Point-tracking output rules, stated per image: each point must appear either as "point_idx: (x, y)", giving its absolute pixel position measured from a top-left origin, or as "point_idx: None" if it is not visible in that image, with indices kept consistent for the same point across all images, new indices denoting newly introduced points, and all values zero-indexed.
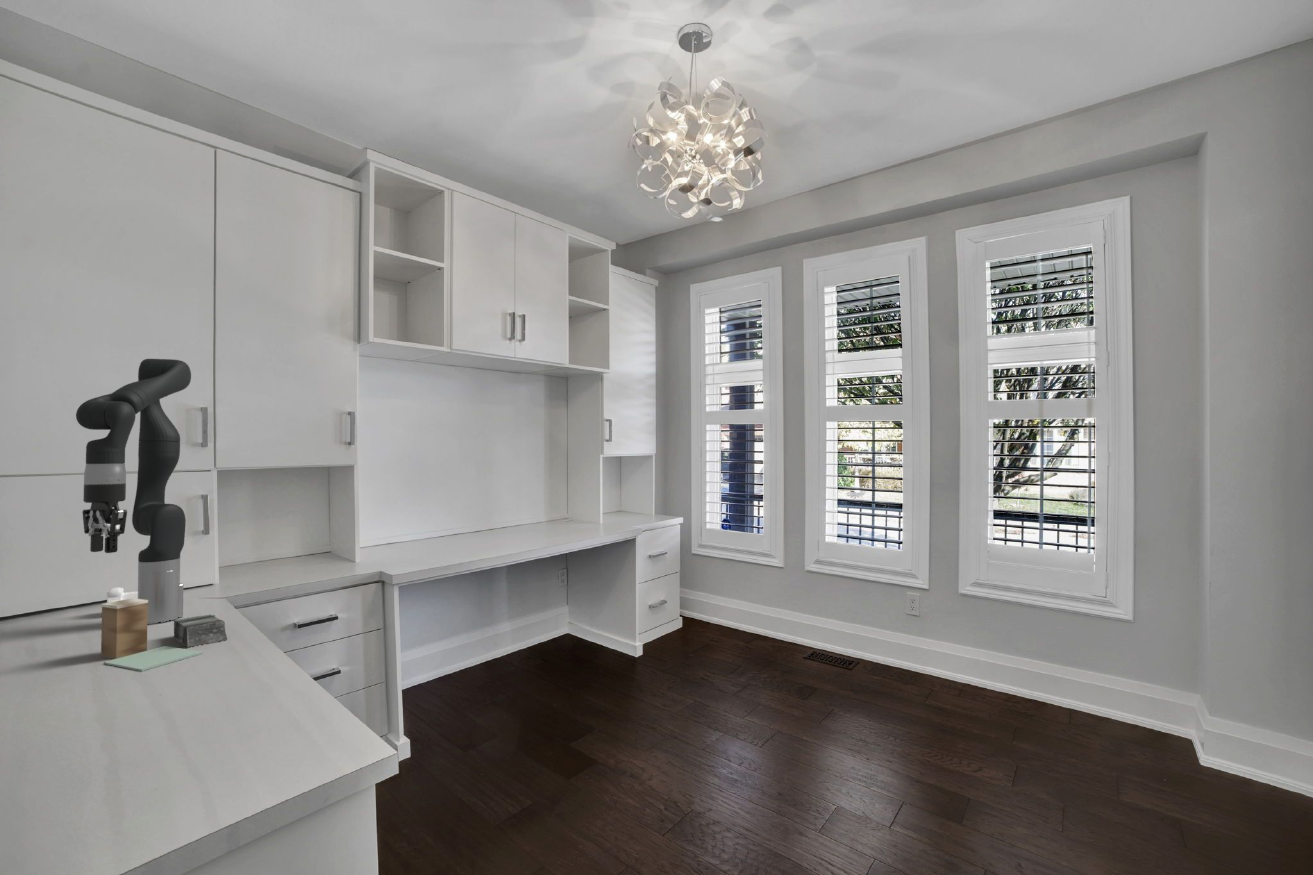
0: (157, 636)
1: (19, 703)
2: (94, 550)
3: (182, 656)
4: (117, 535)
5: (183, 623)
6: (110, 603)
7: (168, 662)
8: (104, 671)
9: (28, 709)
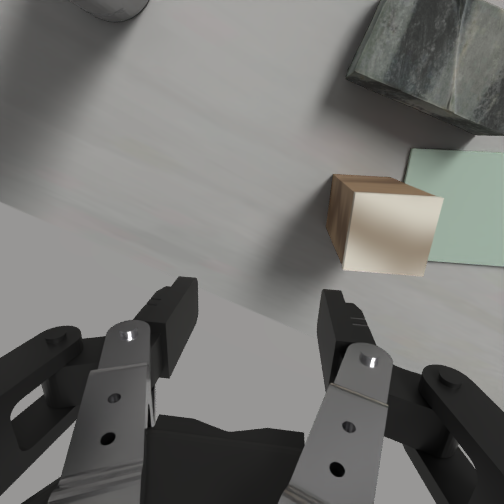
0: (292, 88)
1: None
2: (197, 313)
3: None
4: (396, 371)
5: (452, 107)
6: (362, 259)
7: None
8: (435, 282)
9: (490, 398)
